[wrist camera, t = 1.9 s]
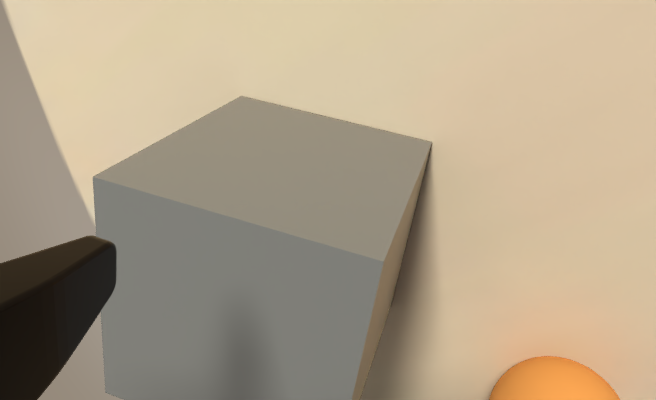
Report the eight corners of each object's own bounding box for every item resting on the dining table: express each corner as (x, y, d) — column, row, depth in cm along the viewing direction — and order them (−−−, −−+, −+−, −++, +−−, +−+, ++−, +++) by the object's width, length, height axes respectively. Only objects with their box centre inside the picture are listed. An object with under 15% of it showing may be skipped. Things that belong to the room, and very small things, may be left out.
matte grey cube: (390, 306, 23) (333, 479, 16) (229, 257, 25) (105, 392, 17) (431, 141, 20) (383, 261, 12) (241, 95, 21) (93, 176, 14)
